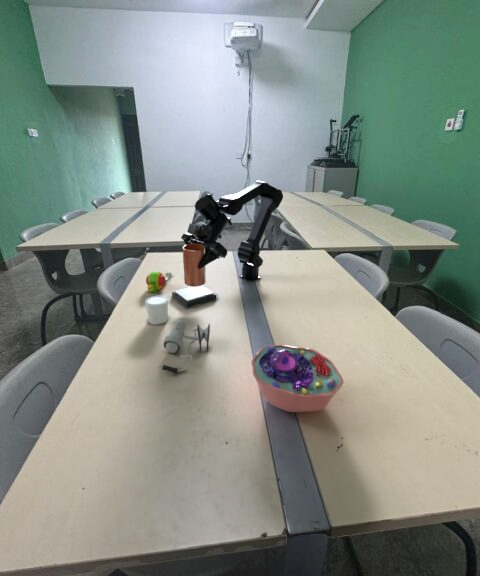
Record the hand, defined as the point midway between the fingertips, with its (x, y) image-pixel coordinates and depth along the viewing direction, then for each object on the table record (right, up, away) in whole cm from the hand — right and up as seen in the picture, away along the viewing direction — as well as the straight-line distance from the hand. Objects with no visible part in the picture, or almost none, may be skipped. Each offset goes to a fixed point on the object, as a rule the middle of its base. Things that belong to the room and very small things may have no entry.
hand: (191, 265), depth 108 cm
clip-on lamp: (+3, -25, -23) cm, 35 cm away
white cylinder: (-9, -18, -7) cm, 21 cm away
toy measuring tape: (-16, -6, +18) cm, 25 cm away
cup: (+1, -6, +4) cm, 7 cm away
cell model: (+30, -32, -36) cm, 57 cm away
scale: (0, -11, +7) cm, 14 cm away
